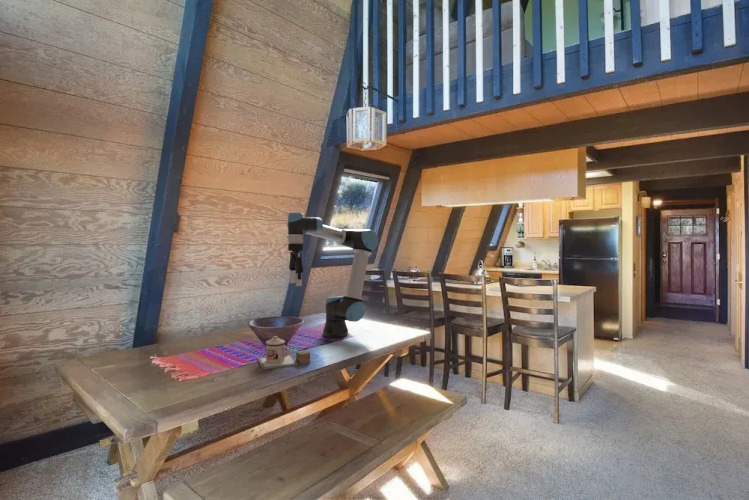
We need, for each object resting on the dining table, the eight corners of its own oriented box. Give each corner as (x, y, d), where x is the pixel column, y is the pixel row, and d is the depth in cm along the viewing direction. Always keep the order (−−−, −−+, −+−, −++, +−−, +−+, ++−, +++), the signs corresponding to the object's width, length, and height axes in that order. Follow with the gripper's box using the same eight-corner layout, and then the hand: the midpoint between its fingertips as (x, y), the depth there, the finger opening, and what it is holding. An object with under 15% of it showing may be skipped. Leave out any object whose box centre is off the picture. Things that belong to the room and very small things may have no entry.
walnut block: (296, 362, 196) (296, 351, 196) (305, 360, 199) (305, 350, 199) (300, 364, 192) (300, 354, 192) (310, 363, 195) (310, 352, 195)
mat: (257, 359, 200) (257, 357, 200) (290, 355, 206) (290, 354, 206) (262, 369, 185) (262, 367, 185) (298, 364, 192) (298, 363, 192)
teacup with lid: (261, 362, 193) (261, 337, 193) (273, 357, 202) (272, 333, 201) (283, 365, 189) (283, 340, 188) (294, 359, 197) (294, 335, 197)
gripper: (283, 242, 221) (283, 282, 222) (293, 243, 198) (294, 287, 199) (297, 242, 224) (297, 281, 225) (309, 243, 201) (309, 287, 202)
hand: (295, 284), depth 212 cm, fingers open, 13 cm apart
